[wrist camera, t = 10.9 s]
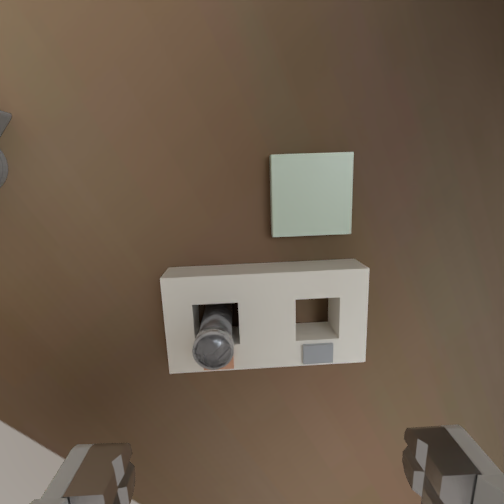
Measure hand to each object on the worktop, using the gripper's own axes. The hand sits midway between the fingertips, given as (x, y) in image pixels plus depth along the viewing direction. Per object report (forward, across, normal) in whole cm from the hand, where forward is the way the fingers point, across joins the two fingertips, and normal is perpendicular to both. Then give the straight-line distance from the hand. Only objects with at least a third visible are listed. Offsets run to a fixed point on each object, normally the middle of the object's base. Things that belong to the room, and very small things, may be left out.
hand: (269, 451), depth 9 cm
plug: (+25, +4, +6) cm, 26 cm away
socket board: (+25, -1, +6) cm, 26 cm away
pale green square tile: (+25, -6, -6) cm, 27 cm away
